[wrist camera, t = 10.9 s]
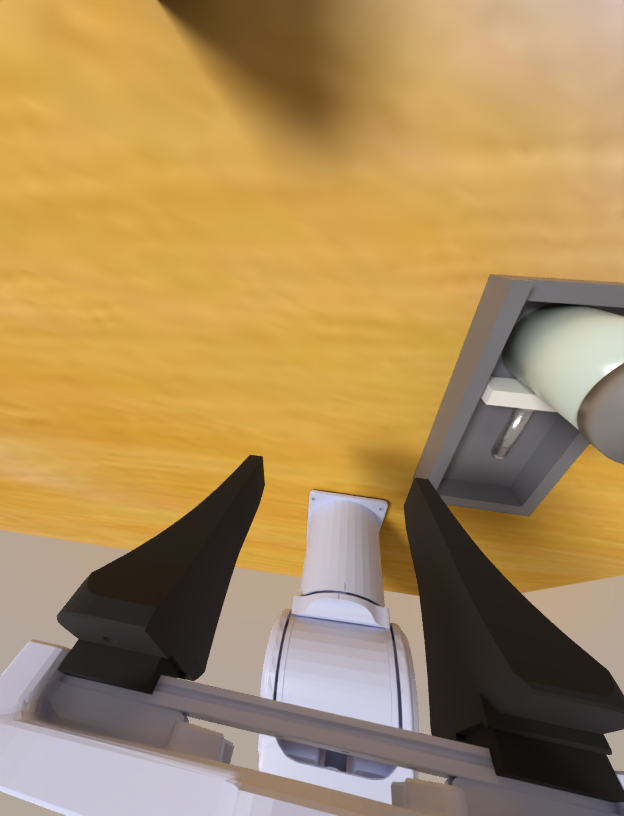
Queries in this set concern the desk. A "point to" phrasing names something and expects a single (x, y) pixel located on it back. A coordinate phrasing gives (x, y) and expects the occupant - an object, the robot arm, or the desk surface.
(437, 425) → the pusher lane
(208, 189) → the desk surface
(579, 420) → the jar
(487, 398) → the pusher
